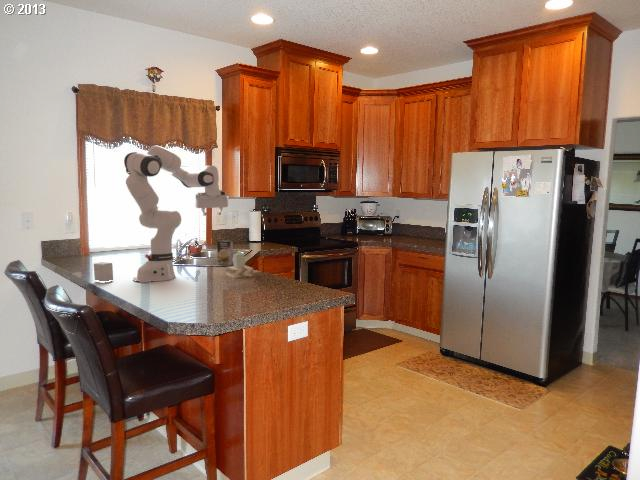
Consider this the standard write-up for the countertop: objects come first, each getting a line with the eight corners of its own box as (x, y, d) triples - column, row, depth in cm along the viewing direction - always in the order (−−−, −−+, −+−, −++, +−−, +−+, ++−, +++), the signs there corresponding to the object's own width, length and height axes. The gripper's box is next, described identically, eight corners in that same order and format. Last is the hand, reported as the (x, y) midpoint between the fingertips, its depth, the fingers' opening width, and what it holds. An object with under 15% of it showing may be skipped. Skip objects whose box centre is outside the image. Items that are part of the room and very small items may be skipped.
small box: (113, 282, 255) (112, 262, 254) (105, 283, 250) (104, 264, 249) (103, 280, 258) (102, 261, 257) (94, 282, 253) (93, 263, 252)
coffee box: (217, 265, 310) (216, 241, 308) (220, 263, 316) (219, 240, 315) (230, 265, 309) (230, 241, 308) (233, 264, 316) (233, 240, 314)
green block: (236, 268, 270) (236, 254, 269) (233, 267, 274) (233, 253, 274) (244, 267, 273) (244, 254, 272) (241, 266, 277) (241, 253, 276)
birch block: (233, 278, 266) (233, 270, 265) (226, 275, 276) (226, 267, 276) (253, 276, 272) (253, 268, 272) (245, 273, 282) (245, 265, 282)
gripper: (197, 192, 277) (198, 216, 279) (228, 192, 290) (229, 214, 291) (193, 192, 282) (194, 215, 284) (224, 192, 295) (224, 214, 296)
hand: (212, 215), depth 288 cm, fingers open, 8 cm apart
